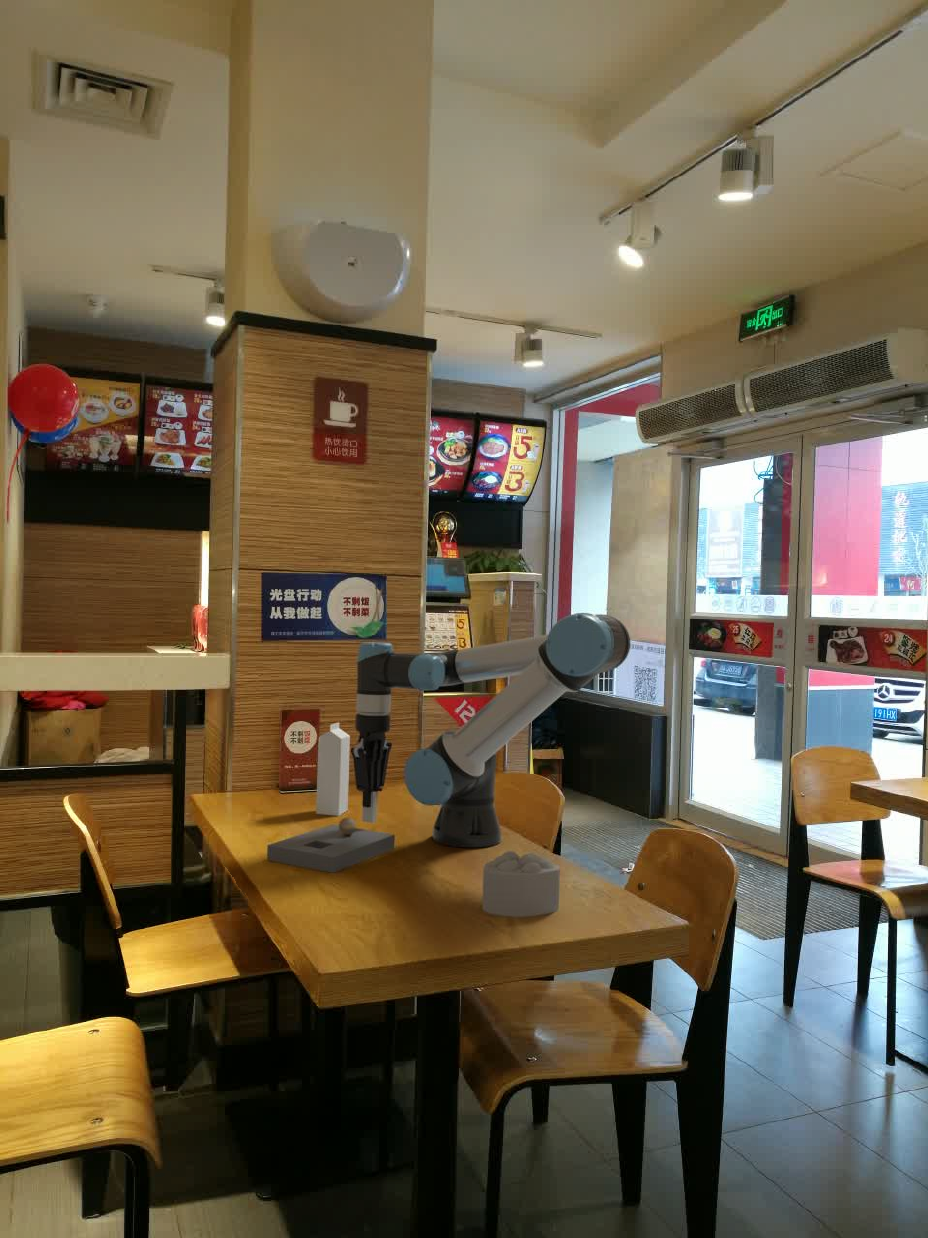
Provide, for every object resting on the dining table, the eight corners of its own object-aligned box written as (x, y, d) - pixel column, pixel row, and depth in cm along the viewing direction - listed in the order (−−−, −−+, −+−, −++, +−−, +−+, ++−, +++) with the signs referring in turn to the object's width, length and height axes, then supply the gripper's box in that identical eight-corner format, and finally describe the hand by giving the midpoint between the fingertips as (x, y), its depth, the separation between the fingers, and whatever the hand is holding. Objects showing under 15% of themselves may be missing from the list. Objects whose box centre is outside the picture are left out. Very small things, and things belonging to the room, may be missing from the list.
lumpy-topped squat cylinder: (565, 911, 160) (567, 861, 160) (499, 921, 154) (501, 868, 154) (534, 894, 169) (535, 846, 169) (470, 902, 163) (472, 853, 163)
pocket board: (394, 848, 197) (394, 834, 197) (333, 873, 178) (333, 857, 178) (332, 838, 205) (332, 824, 205) (266, 860, 185) (267, 845, 185)
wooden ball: (359, 834, 197) (359, 817, 197) (349, 837, 193) (349, 820, 193) (344, 832, 198) (345, 815, 198) (334, 835, 195) (335, 818, 195)
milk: (315, 814, 228) (318, 724, 228) (325, 809, 234) (327, 721, 234) (339, 816, 227) (341, 725, 227) (348, 811, 233) (350, 722, 232)
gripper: (375, 709, 211) (371, 813, 211) (341, 714, 199) (337, 824, 199) (403, 712, 207) (399, 818, 207) (370, 717, 196) (366, 829, 196)
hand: (369, 821), depth 203 cm, fingers closed
